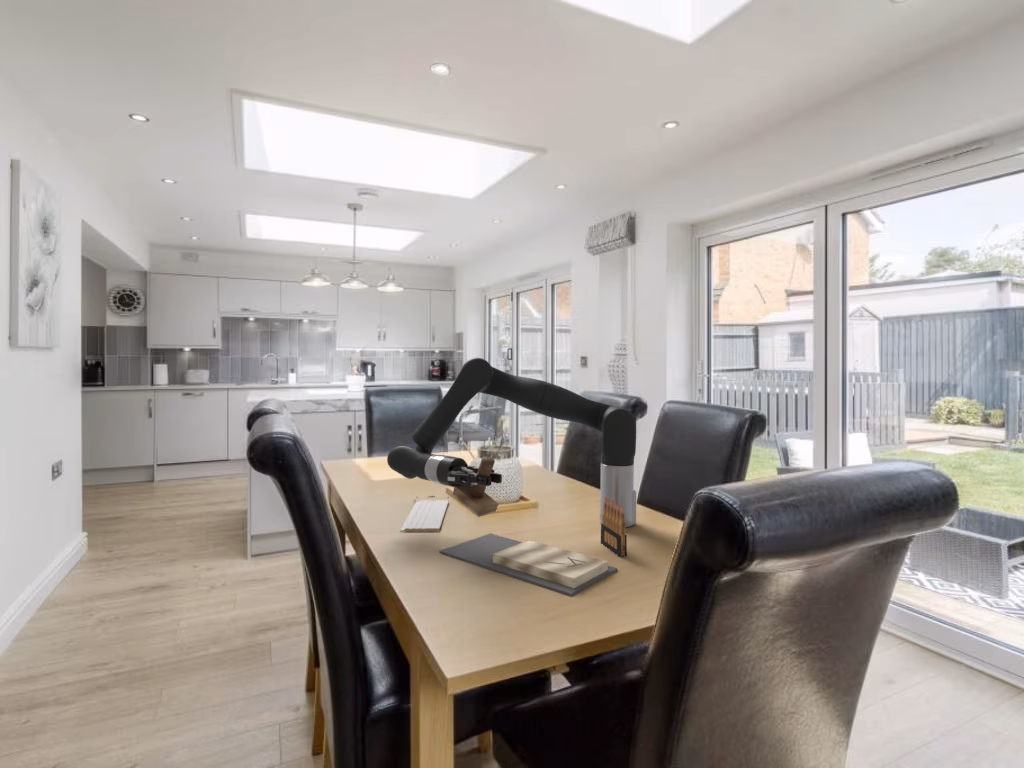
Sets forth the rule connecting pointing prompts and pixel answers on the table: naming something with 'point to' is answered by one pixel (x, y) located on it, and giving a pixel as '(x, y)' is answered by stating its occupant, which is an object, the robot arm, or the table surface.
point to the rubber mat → (482, 555)
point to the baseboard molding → (426, 515)
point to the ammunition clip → (614, 528)
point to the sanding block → (477, 492)
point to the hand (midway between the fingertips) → (495, 480)
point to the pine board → (551, 563)
